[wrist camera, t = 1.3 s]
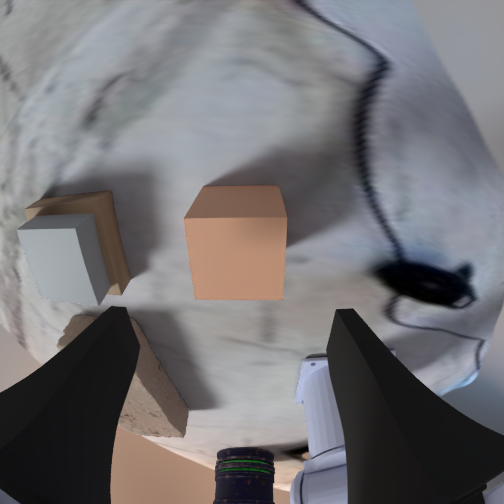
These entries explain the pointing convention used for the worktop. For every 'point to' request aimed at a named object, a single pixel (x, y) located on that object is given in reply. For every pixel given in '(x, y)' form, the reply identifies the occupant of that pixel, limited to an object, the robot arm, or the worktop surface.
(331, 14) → the worktop surface
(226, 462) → the storage jar
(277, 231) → the terracotta block
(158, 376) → the brick
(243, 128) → the worktop surface
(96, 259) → the grey flat square block
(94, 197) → the tower base
